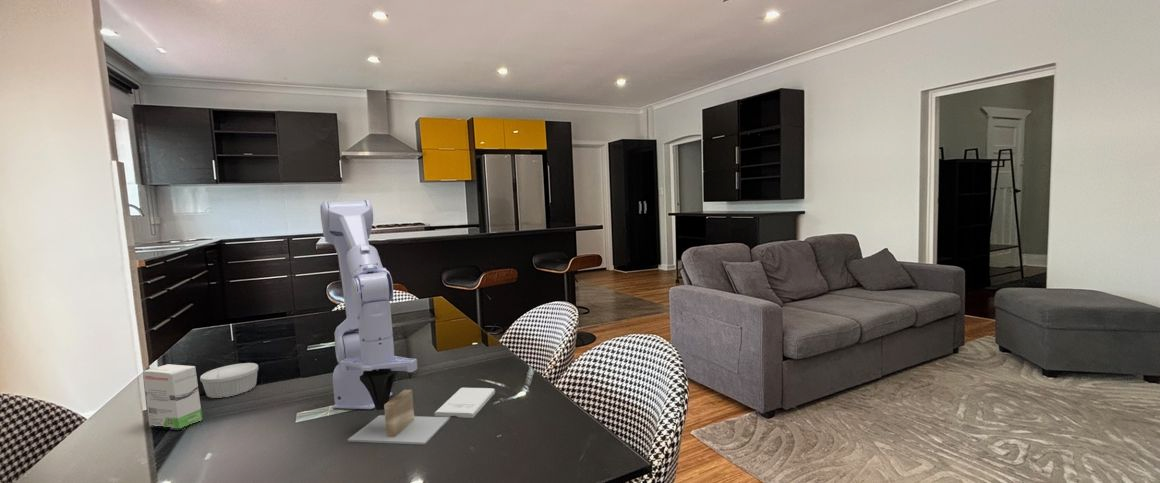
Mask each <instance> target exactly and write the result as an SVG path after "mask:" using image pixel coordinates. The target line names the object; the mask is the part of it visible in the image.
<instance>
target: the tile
mask: <svg viewBox="0 0 1160 483" xmlns="http://www.w3.org/2000/svg"><path fill="white" fill-rule="evenodd" d="M413 396H414V395H413V389H403V390H402V391H401V392H399V393H398V394H397V395H395V396H394V397H393V398H391V399H389V401H388V402H387V403H386V404H384V409H383V410H384V415H385V421H386V433H387V437H396V436H397V435H398V434H399V433H400V432H401V431H402V430H404V429H405V428H406V427H407V426H408V425H409V424H410V423H411V422H413V421H414V416H415V410H414V397H413Z"/></svg>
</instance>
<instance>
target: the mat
mask: <svg viewBox="0 0 1160 483" xmlns="http://www.w3.org/2000/svg"><path fill="white" fill-rule="evenodd" d="M450 418H451V417H437V416H422V415H421V416H420V415H419V416H418V415H414V421H413V422H411V423H410V424H409V425H408V426H407V427H406V428H405V429H404V430H402V431H401V432H400V433H399V434H398V435H397V436H396V437H387V433H386V421H385V414H384V415H382V414H380V415H378V416H376V417H375V418H374V419H372V420H371V421H370V422H369V423H367V424H366V425H365V426H364V427H362V428H361V429H359V430H357V432H356V433H354V434H353V435H351V436H350V437H349V438H347V443H349V442H350V443H352V442H353V443H373V444H376V443H377V444H396V445H397V444H400V445H423V446H426V444H428V442H430V440H431V439H433V437H434V436H435V435H436V434H437V433H438V432H440V430H441V429H442V428H443V427H444V426H445V425H446V424H447V423H448V422H449V421H450Z"/></svg>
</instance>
